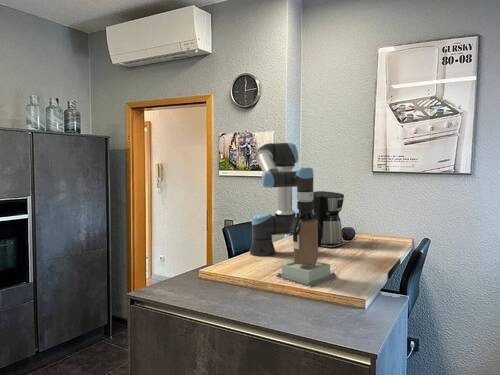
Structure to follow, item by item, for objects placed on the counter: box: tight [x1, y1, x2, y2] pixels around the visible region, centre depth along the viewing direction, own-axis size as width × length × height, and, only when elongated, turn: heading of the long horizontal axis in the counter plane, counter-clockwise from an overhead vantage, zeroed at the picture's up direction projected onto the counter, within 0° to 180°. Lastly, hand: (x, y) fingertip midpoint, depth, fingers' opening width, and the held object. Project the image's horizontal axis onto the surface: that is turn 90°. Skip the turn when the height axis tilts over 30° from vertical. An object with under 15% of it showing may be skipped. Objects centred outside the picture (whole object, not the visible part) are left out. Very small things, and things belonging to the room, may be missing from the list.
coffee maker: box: [312, 190, 345, 249], centre depth 252 cm, size 23×32×34 cm
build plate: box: [275, 260, 337, 287], centre depth 185 cm, size 20×20×6 cm
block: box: [293, 219, 319, 265], centre depth 183 cm, size 10×10×20 cm
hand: (305, 246), depth 184 cm, fingers closed on block, 13 cm apart
